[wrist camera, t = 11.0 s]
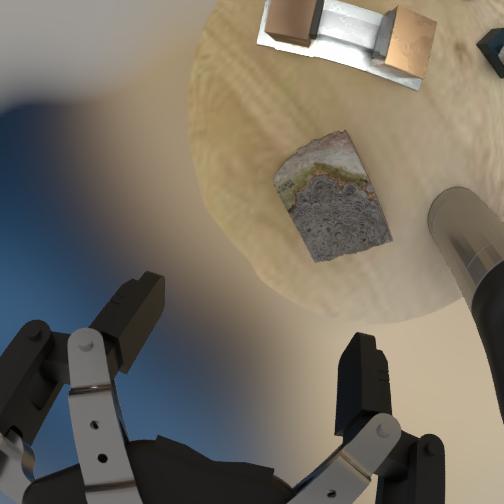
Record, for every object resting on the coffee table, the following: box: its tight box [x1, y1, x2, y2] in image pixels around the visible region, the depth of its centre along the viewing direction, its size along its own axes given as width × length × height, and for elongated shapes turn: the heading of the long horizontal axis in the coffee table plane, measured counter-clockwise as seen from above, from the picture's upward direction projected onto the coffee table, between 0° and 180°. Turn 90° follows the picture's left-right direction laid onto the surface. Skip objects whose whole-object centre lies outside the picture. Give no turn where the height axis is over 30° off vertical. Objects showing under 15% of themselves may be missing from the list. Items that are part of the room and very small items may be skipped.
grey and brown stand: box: [257, 0, 437, 91], centre depth 24 cm, size 20×8×9 cm, turn 79°
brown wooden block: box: [264, 0, 325, 48], centre depth 24 cm, size 5×6×8 cm
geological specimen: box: [274, 130, 393, 263], centre depth 37 cm, size 11×6×15 cm
